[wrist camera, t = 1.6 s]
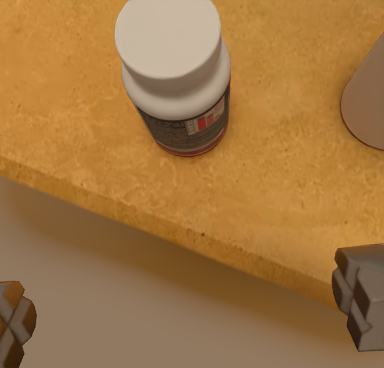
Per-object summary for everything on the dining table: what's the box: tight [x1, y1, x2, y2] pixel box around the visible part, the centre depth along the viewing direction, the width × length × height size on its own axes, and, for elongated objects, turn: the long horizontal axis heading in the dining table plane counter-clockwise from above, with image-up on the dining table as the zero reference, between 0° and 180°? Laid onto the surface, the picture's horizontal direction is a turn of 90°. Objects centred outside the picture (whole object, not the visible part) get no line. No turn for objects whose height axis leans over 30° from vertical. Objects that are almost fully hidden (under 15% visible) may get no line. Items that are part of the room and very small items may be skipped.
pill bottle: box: [114, 0, 231, 156], centre depth 19 cm, size 6×6×10 cm
